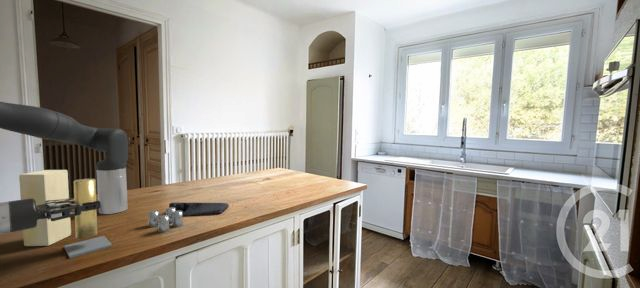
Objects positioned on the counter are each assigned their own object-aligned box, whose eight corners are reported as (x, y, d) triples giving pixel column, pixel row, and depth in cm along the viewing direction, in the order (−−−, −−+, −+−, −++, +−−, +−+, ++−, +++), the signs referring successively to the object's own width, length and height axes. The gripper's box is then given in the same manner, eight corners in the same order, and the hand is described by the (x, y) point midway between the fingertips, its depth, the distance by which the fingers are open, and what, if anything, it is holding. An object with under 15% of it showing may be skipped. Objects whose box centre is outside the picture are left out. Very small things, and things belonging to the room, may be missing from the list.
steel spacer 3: (165, 224, 93) (164, 210, 93) (168, 220, 96) (167, 207, 96) (174, 223, 94) (174, 210, 93) (177, 219, 97) (176, 206, 96)
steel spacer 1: (147, 226, 91) (146, 212, 91) (157, 223, 94) (156, 209, 94) (150, 228, 89) (149, 214, 89) (160, 225, 92) (160, 211, 92)
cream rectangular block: (47, 234, 83) (42, 169, 81) (72, 234, 84) (68, 169, 82) (20, 246, 75) (15, 174, 73) (48, 246, 76) (43, 174, 74)
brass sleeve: (74, 235, 75) (72, 180, 74) (95, 230, 78) (93, 178, 77) (77, 240, 72) (75, 182, 71) (98, 235, 75) (97, 180, 74)
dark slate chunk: (222, 217, 102) (221, 205, 101) (162, 218, 100) (162, 206, 99) (231, 205, 117) (231, 195, 117) (179, 206, 115) (179, 195, 114)
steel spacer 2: (156, 231, 87) (156, 216, 87) (167, 228, 90) (166, 214, 89) (160, 234, 85) (160, 219, 85) (171, 231, 88) (170, 216, 87)
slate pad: (64, 247, 75) (64, 245, 75) (104, 237, 82) (104, 235, 82) (69, 258, 69) (69, 256, 69) (112, 246, 76) (111, 244, 76)
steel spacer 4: (171, 225, 92) (170, 212, 92) (180, 223, 94) (180, 209, 94) (174, 228, 90) (174, 214, 90) (184, 225, 92) (184, 211, 92)
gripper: (6, 208, 59) (103, 194, 72) (6, 196, 68) (92, 185, 81) (8, 240, 59) (104, 221, 72) (7, 224, 68) (93, 209, 81)
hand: (97, 202), depth 77 cm, fingers closed on brass sleeve, 4 cm apart
